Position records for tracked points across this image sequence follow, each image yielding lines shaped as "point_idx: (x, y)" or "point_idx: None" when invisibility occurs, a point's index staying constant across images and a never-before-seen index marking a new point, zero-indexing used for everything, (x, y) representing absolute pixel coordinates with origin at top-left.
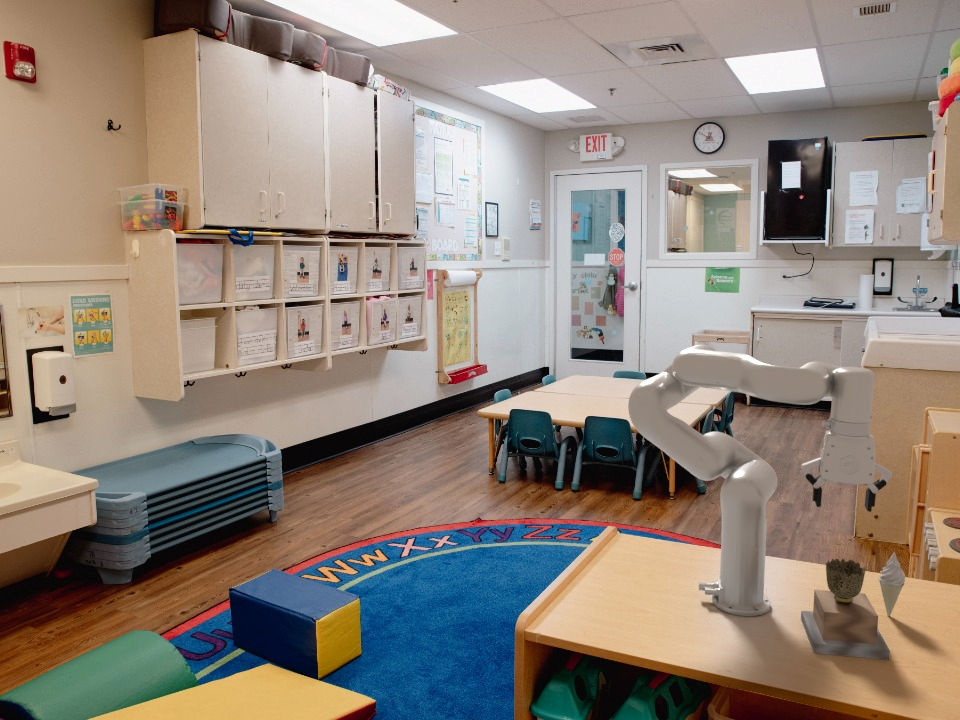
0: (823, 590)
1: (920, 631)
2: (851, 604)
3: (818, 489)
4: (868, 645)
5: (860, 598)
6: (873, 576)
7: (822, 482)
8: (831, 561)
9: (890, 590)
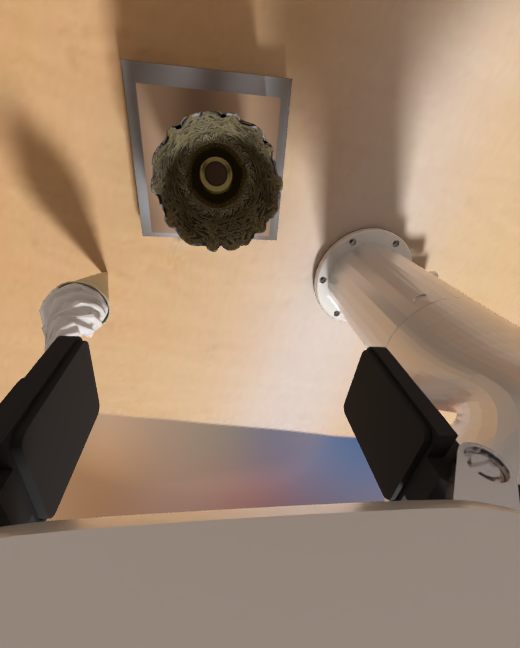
0: None
1: (46, 218)
2: None
3: (453, 433)
4: (169, 84)
5: None
6: (116, 404)
7: (470, 500)
8: (250, 238)
9: (87, 281)
